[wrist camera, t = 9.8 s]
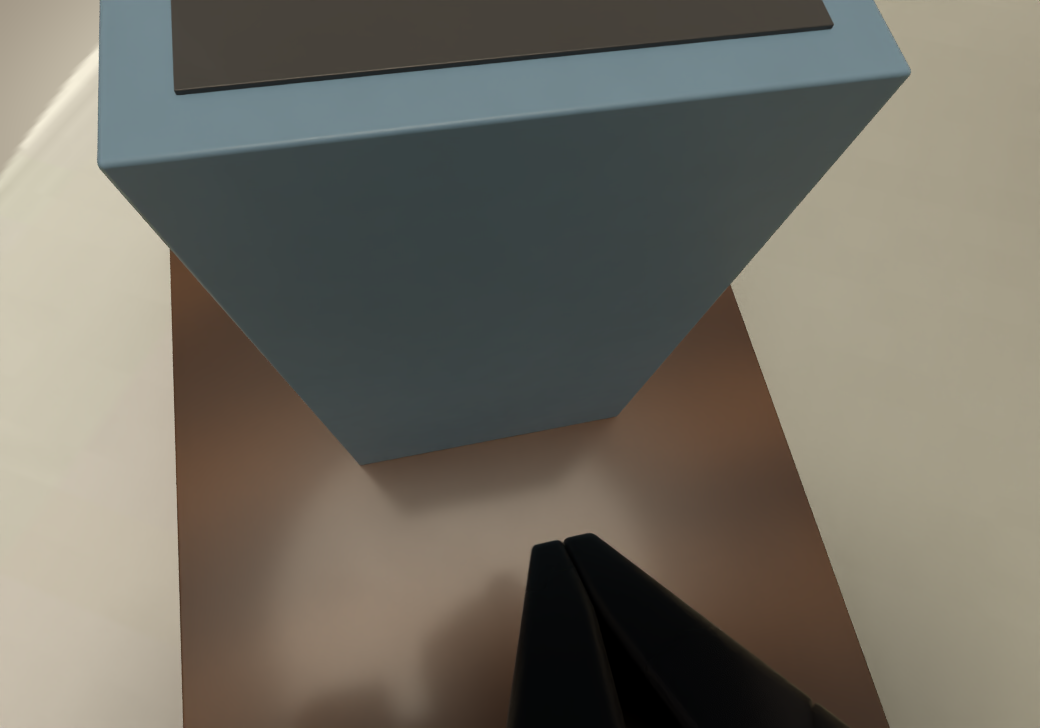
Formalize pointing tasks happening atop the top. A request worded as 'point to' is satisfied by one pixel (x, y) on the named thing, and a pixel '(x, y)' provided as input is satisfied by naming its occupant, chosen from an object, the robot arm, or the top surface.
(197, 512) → the walnut board
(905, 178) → the top surface
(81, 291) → the top surface
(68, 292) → the top surface
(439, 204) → the pen caddy
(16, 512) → the top surface
